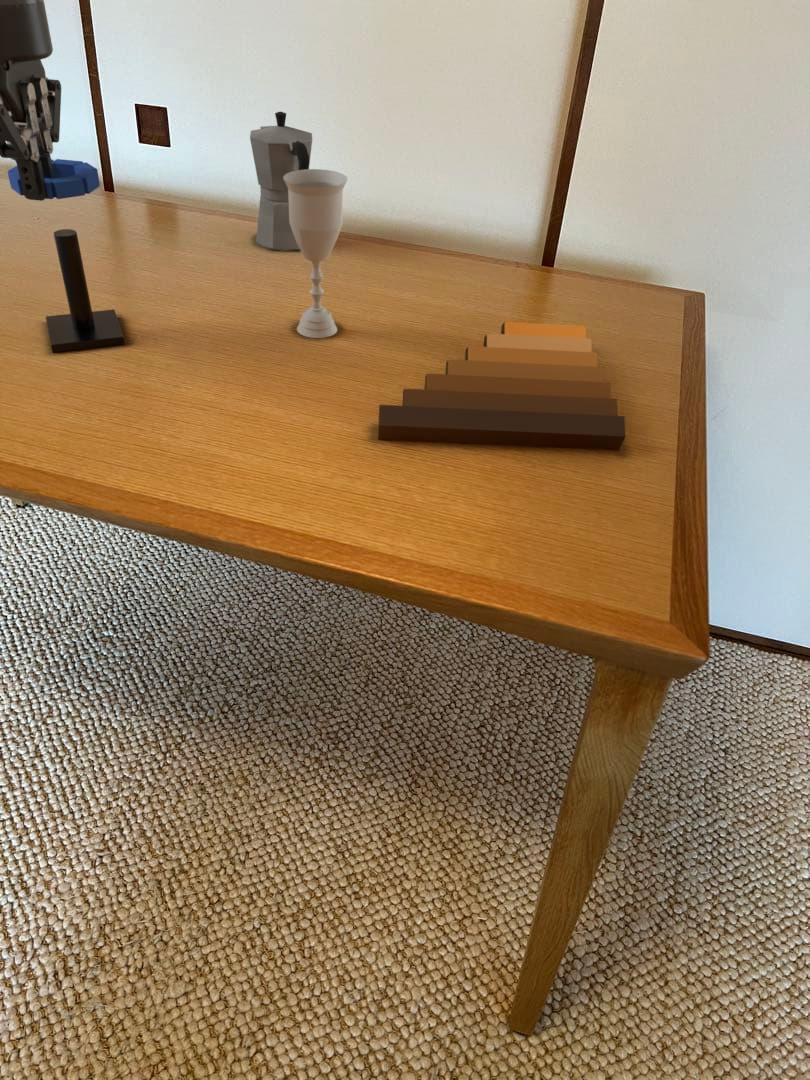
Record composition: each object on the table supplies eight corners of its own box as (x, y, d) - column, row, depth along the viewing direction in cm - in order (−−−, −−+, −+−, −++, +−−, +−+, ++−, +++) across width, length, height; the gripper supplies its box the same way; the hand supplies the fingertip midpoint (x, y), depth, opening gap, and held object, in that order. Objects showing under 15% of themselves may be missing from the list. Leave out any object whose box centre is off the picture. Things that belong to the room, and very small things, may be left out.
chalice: (325, 312, 106) (324, 166, 94) (356, 332, 102) (360, 181, 90) (277, 325, 102) (270, 174, 91) (308, 346, 98) (305, 191, 87)
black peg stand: (52, 353, 93) (28, 248, 85) (47, 324, 99) (23, 223, 91) (125, 344, 96) (107, 242, 88) (115, 316, 101) (98, 218, 94)
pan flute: (378, 442, 82) (620, 453, 84) (379, 413, 80) (628, 425, 81) (380, 335, 102) (577, 345, 103) (381, 309, 100) (582, 319, 101)
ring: (78, 202, 83) (75, 185, 82) (-2, 194, 83) (-6, 178, 82) (110, 179, 89) (107, 163, 88) (35, 171, 90) (32, 156, 89)
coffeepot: (240, 230, 128) (232, 102, 116) (296, 223, 132) (293, 100, 120) (277, 264, 118) (272, 129, 106) (336, 256, 121) (337, 125, 110)
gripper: (-5, -16, 78) (36, 174, 89) (-86, -1, 68) (-29, 213, 79) (71, -10, 78) (103, 180, 89) (1, 7, 67) (47, 220, 78)
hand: (41, 195), depth 84 cm, fingers closed on ring, 1 cm apart
